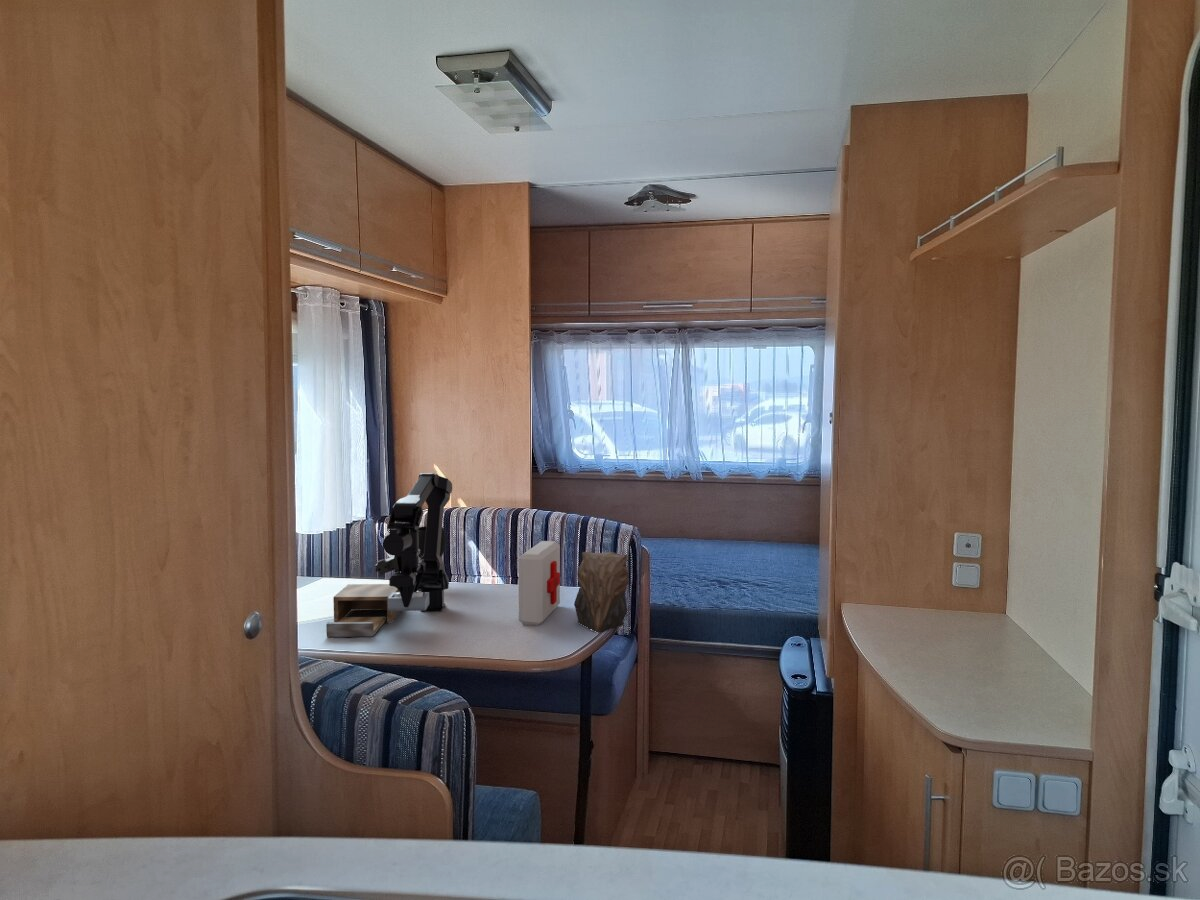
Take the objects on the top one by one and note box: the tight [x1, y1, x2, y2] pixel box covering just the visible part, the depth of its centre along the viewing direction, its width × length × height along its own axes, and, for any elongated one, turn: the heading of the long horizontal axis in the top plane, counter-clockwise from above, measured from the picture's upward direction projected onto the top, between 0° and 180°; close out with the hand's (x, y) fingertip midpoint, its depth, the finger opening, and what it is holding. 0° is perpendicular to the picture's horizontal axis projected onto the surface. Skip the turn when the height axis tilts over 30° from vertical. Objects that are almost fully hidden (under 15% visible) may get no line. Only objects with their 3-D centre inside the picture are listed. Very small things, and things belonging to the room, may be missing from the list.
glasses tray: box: [388, 591, 429, 612], centre depth 207 cm, size 10×6×4 cm, turn 92°
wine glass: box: [417, 526, 447, 592], centre depth 249 cm, size 10×10×20 cm
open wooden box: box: [332, 583, 401, 624], centre depth 218 cm, size 16×14×8 cm
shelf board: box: [325, 616, 387, 638], centre depth 206 cm, size 12×14×4 cm
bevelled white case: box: [517, 540, 561, 626], centre depth 219 cm, size 21×8×20 cm, turn 168°
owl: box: [573, 551, 629, 634], centre depth 211 cm, size 13×13×20 cm
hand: (408, 603), depth 207 cm, fingers closed on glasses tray, 6 cm apart
